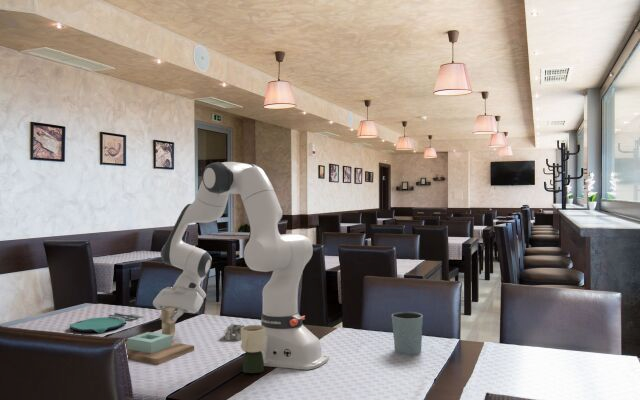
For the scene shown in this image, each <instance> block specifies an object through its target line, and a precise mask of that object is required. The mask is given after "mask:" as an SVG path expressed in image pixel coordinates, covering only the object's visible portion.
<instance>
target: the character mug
mask: <svg viewBox="0 0 640 400" xmlns="http://www.w3.org/2000/svg"><path fill="white" fill-rule="evenodd" d="M240 341H241V344H240V348H241V349H242V351H243V352H244V356H243V361H242V362H243V363H242V372H243V373H247V374H251V375H252V374H258V373H263V372H264V371H265V366H264V361H263V355H262V352H261V351H263V350H264V349H265V327H264V326H262V325H261V324H250V325H244V327H242V328H241V340H240Z"/></svg>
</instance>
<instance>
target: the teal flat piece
mask: <svg viewBox="0 0 640 400" xmlns="http://www.w3.org/2000/svg"><path fill="white" fill-rule="evenodd" d="M138 319H143V316H141V315H136V314H133V313H132V314H125V313H124V314H123V313H119V312H114V314H108V317H106V316H104V317H92V318H91V317H90V318H87V319H84V320H80V321H77V322H74V323H70V324H69V330H74V331H78V332H96V333H97V334H99V335H100V334H103V333H105V331H108V330H113V329H117V328H120V327H122V326H124V325H126V324H127V322H133V321H134V320H138Z"/></svg>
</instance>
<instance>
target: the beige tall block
mask: <svg viewBox="0 0 640 400" xmlns="http://www.w3.org/2000/svg"><path fill="white" fill-rule="evenodd" d="M175 314H176V311H175V308H170V307H165V308H162V320H161V334H165V335H171V338H172V337H174V336H176V322H175V321H172V320H171V319H170V318H171V317H172V315H175Z"/></svg>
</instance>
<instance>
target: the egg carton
mask: <svg viewBox="0 0 640 400" xmlns="http://www.w3.org/2000/svg"><path fill="white" fill-rule="evenodd" d="M244 326H245V325H244V324H243V325H241V324H233V323H230V324H229V326H227V328H225V329H224V330H223V332H224V333H223V334H224V339H225V340H227V341H232V340H233V341H234V340H236V341H242V340H241V328H242V327H244Z"/></svg>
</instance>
